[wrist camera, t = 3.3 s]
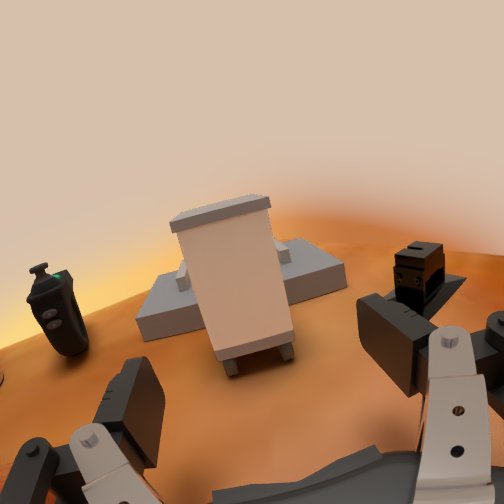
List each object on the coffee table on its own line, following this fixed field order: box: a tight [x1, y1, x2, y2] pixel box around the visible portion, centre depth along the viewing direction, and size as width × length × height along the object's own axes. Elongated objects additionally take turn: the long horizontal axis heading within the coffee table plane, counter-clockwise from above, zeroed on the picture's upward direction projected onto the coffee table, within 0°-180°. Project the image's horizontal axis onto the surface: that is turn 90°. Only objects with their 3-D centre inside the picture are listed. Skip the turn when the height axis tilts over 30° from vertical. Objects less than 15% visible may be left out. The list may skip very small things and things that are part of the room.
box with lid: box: [170, 194, 296, 376], centre depth 20 cm, size 5×6×11 cm
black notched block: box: [383, 241, 467, 321], centre depth 22 cm, size 12×7×5 cm, turn 119°
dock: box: [135, 238, 347, 342], centre depth 33 cm, size 20×14×5 cm
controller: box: [26, 263, 88, 356], centre depth 26 cm, size 4×12×10 cm, turn 31°
